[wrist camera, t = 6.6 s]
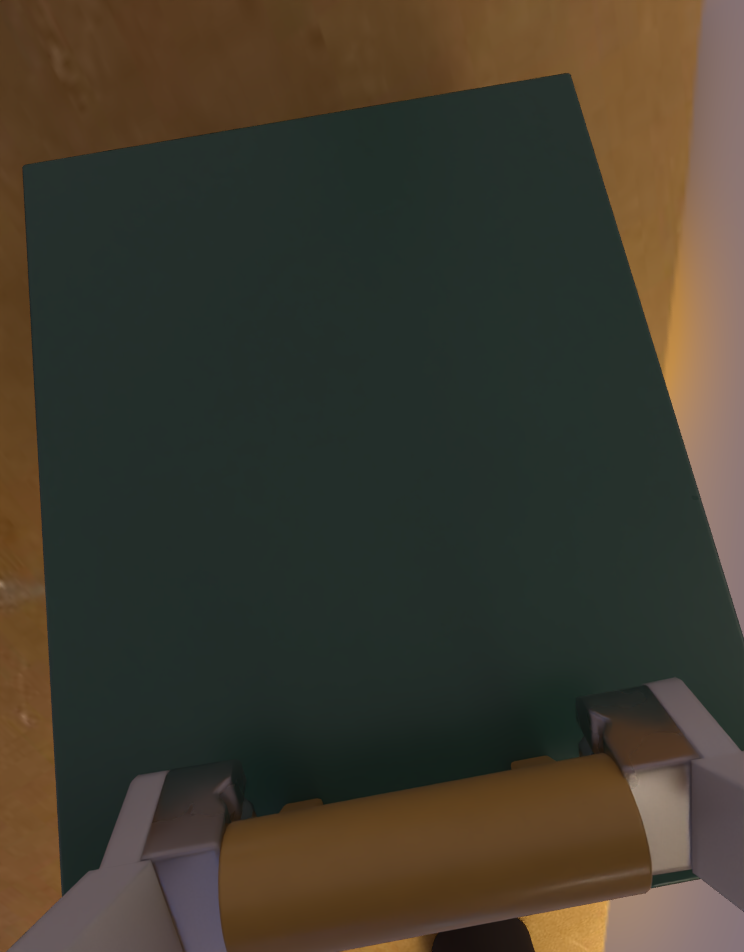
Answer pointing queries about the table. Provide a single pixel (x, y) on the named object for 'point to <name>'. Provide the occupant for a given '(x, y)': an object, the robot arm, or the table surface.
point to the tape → (486, 938)
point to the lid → (364, 509)
